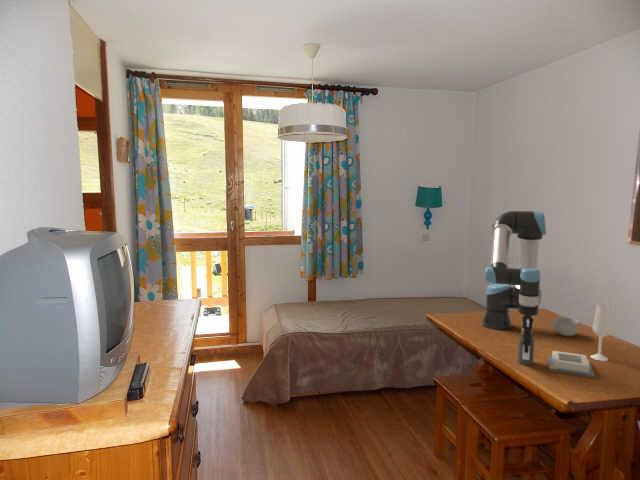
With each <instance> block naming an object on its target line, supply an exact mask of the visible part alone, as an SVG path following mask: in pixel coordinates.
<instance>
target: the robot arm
mask: <svg viewBox="0 0 640 480" xmlns="http://www.w3.org/2000/svg"><path fill="white" fill-rule="evenodd" d="M491 234H492V246H491V248H492V249H491V258H490V266H486V267H485V269H484V281H485V283H487V284H490V285H488V286H487V287H486V303H485V304H486V305H485V312H484V315H483V316H482V319H481V324H482V326H484V327H486V328H488V329H493V330H494V329H495V330H509V329H512V320H511V316H510V313H509V311H510V309H512V310H518V313H519V314H520V315H523V316H522V328H524V342H523V343H521V345H523V353H522V359H525V360H529V355H530V336H531V329H532V330H533V324H534V316H537V315H538V314H539V307H540V304H541V300H542V299H541V298H542V290H541V289H540V284H541V271H540V270H539V269H538V258H539V257H538V256H539V244H540V243H539V242H540V241H541V240H542V239H543V236H545V235H547V228H546V218H545V213H544V212H543V211H535V210H533V211H532V210H527V211H526V210H524V211H523V210H522V211H521V210H520V211H519V210H510V211H506V212H504V213H502V214H500V215H499V216H498V217H497V218H496V219H495V221H493V224H492V226H491ZM512 234H513V235H514V234H515V235H517V237H516V238H517V239H519V241H520V242H519V254H518V255H519V257H518V258H519V259H518V268H511V267H509V253H510V239H511V238H510V236H512ZM532 316H533V317H532Z"/></svg>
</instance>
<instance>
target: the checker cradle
mask: <svg viewBox="0 0 640 480" xmlns="http://www.w3.org/2000/svg"><path fill="white" fill-rule="evenodd" d="M546 358H547V363H548V370H549V372H553V373H554V372H555V373H559V374H561V373H562V374H566V375H573V376H578V377H586V378H591V379H595V378H596V375H595V373H594V370H593V367H592V365H591V363H590V361H589V360H588V358H587V355H586V354H578V353H574V352H573V353H572V352H571V353H570V352H564V351H559V350H558V351H557V350H552V353H551V355H547V356H546Z"/></svg>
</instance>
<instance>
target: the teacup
mask: <svg viewBox="0 0 640 480" xmlns="http://www.w3.org/2000/svg"><path fill="white" fill-rule="evenodd" d="M579 324H580V321H579V320H577V319H575V318H572V317H568V316H556V317H555V318H554V320H551V321H550V324H549V325H550V327H551V329H553V330H554V331H556V332H557V333H558V334H559V335H561V336H565V337H572V336H575V335H576V334H577V333H578V330H579Z"/></svg>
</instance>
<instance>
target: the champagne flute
mask: <svg viewBox="0 0 640 480" xmlns="http://www.w3.org/2000/svg"><path fill="white" fill-rule="evenodd" d="M592 331H593V332H594V335H596V336H598V337H599V338H598V346H597V347H598V349H597V350H598V351H597V353H595V354H592V355H590V358H591V359H593V360H596V361H601V362H607V361H608V360H609V358H608V357H606V356H605V355H603V354H602V349H603V348H602V346H603V338H605V337H607V336H608V335H609V334H610V333H611V332H612V331H611V307H610V305H608V304H603V303H602V304H601V303H600V304H596V308H595V314H594V319H593V325H592Z"/></svg>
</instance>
